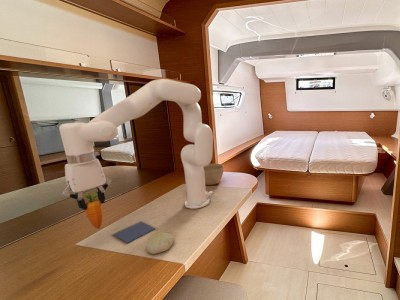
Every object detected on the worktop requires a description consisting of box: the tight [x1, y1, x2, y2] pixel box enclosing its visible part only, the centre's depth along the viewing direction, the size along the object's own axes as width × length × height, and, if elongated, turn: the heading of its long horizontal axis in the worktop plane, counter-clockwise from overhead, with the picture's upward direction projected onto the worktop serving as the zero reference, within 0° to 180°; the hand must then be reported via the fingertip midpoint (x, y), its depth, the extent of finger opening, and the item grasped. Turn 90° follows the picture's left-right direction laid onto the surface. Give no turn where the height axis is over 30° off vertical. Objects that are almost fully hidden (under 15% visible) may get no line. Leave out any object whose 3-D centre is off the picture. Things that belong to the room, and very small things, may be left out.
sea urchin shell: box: [144, 232, 174, 255], centre depth 80 cm, size 9×8×8 cm
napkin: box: [113, 221, 156, 244], centre depth 90 cm, size 11×11×1 cm
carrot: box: [84, 190, 104, 230], centre depth 81 cm, size 5×5×15 cm
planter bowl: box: [203, 163, 225, 186], centre depth 144 cm, size 16×16×11 cm
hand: (93, 205), depth 80 cm, fingers closed on carrot, 5 cm apart
